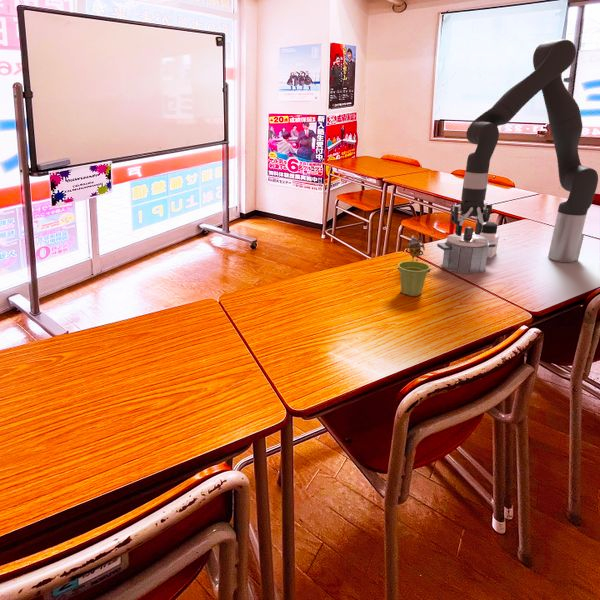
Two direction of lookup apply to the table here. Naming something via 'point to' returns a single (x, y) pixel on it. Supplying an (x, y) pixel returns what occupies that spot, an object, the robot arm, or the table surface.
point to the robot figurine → (415, 248)
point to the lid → (467, 239)
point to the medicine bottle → (490, 236)
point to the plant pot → (412, 277)
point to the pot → (464, 258)
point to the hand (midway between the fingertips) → (467, 234)
